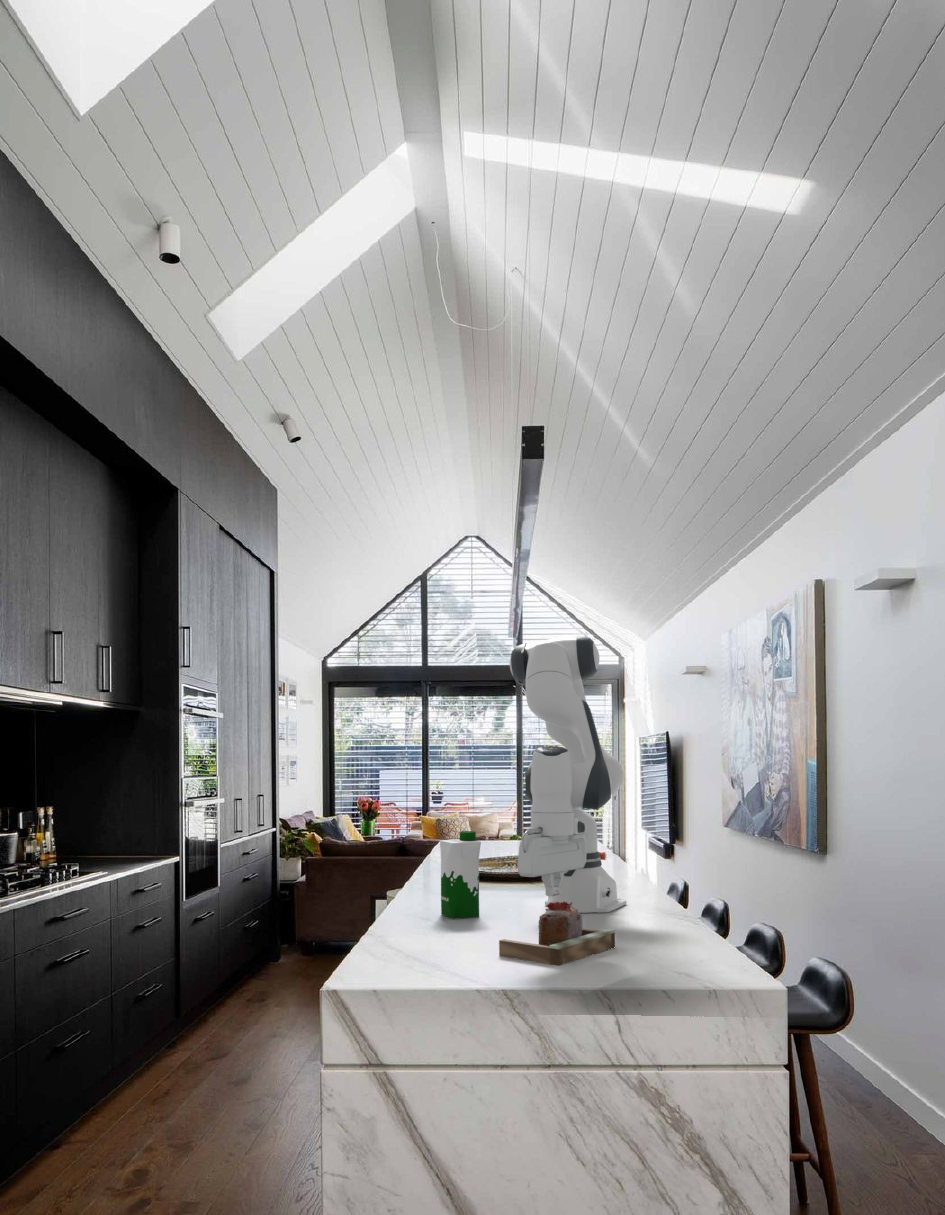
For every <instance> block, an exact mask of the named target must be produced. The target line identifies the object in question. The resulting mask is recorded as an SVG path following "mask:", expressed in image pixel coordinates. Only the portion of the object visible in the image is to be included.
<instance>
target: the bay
mask: <svg viewBox="0 0 945 1215" xmlns="http://www.w3.org/2000/svg"><path fill="white" fill-rule="evenodd" d="M615 931H616V930H615V929H609V928H608V929H607V928H605V929H602V930H598V929H597V930H596V929H590V928H583V927H582V936H580V937H577V938H573V939H570V940H566V941H563V942H559V943H556V944H552V945H549V946H545V945H539V943H537V944H536V943H532V942H526V941H525V942H524V941H519V940H518V941H517V940H511V939H507V938H506V939H500V940H499V941H498V948H499V949H498V955H499V957H502V958H509V959H516V960H522V961H526V962H527V961H528V962H532V963H540V964H545V965H546V964H547V965H551V966H557V967H559V966H563V965H565V964H569V963H572V962H575V961H578V960H581V958H582V959H584V957H585V958H587V957H586V956H588V957H590V956H589V955H591V956H593V955H592V954H594V955H597V954H600V953H602V951H603V952H606V950H607V951H608V949H610V950H612V949H611V948H613V949H615V948H616V932H615ZM614 947H615V948H614Z"/></svg>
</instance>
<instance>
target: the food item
mask: <svg viewBox="0 0 945 1215" xmlns="http://www.w3.org/2000/svg"><path fill="white" fill-rule="evenodd" d="M571 905H572V902H571V903H570V904H568V903H567V902H566V903H565V901H564V902H561V903H560V902H556V903H555V902H554V903H551V902H550V903H549V904H548V905H547V906H546V907H547V908H545V912H544V913H543V914H541V915H539V920H538V944H539V945H545V946H549V945H552V944H556V943H559V942H563V941H566V940H570V939H573V938H577V937H580V936H582V928H583V916H582V914H581V913H578V910H577V909H575V908H573V907H571Z"/></svg>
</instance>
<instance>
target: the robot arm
mask: <svg viewBox="0 0 945 1215" xmlns="http://www.w3.org/2000/svg"><path fill="white" fill-rule="evenodd" d="M599 653H600V652H599V650H598V647H597V646H596V644H595V641H594V640H593V639H591V637H588V636H576V637H556V638H555V637H554V638H551V639H545V640H540V641H535V642H531V643H522V644H519V645H517V646H515V648H513V649H512V651H511V653H510V658H509V669H510V672H511V675H512V677H513V679H514V681H515V682H516V683H517V684H519V685H521V686H525V697H526V698H525V699H526V703H527V706H528V709H530V711H531V712H532V713H533V714H534V715H535V716H536V717H538V719H540V720H542V721H543V722H545V728H546V732H547V735H549V737H550V738H551V739H552V740H553V741H555V742H557V743H559V744H560V745H561V746H554V745H546V746H545V745H544V746H539V747H537V748H535V749H534V750H533V754H532V760H531V761H530V763H529V765H528V768H527V770H526V771H525V772H524V778H525V780H524V781H525V783H524V784H525V793H524V797H525V798H526V799H527V800H528V801H529V802H530V803H532V804H531V807H530V828H527V829H526V830H525V832H524V833H523V834H522V836H521V840H520V843H519V847H518V854H517V855H518V857H517V871H518V873H519V876H521V877H526V878H527V877H528V878H535V877H541V880H542V882H543V885H544V888H545V895H546V896H547V898H548V899H547V900H545V901H544V906H546V907H547V905H548V904H549V903H550V902H551V903H554V902H555V903H556V902H560V903H561V902H564V901H565V903H566V902H567V903H568V904H570V903H571V902H572V905H571V907H573V908H575V909H577V910H578V913H584V914H585V913H610V912H612V911H614V910H617V909H619V908H621V907H623V906H625V905H627V900H625V899H622V898H618V891H617V890H618V888H617V883H616V880H615V879H614V878H613V877H612V876H611V875H610V874H609V872H607V871H606V870H605V869H604V868H603V866H602V865H603V864H602V860H603V861H605V860H607V853H606V851H602V852H601V851H598V824H597V821H596V819H595V818H594V817H593V816H592V815H591V814H590V813H589V812H587V811H585V810H600V809H601V808H602V807H604V805H606V804H607V803H608V802H609V801H610V799H611V798H612V795H614V794H617V792H618V791H620V788H621V786H622V784H623V780H624V770H623V767H622V765H621V763H620V761H619V760H618V759H617V758H616V757H615V756H614V755H612V754H610V753H609V752H608V751H607V750H606V749H605V748H604V747H603V746H602V745H601V743H600V738H599V735H598V730H597V728H596V723H595V720H594V717H593V713H592V710H591V708H590V706H589V704H588V702H587V699H586V693H585V688H584V684H583V681H584V682H586V681H587V680H588V679H590V678H592V677H594V676H595V675H596V673H597V672H598V668H599V665H600V654H599ZM584 809H585V810H584Z"/></svg>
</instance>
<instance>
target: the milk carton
mask: <svg viewBox="0 0 945 1215" xmlns="http://www.w3.org/2000/svg"><path fill="white" fill-rule="evenodd" d="M481 844H482V842H481V841H480V840H478V839H477V834H476V831H473V830H463V831H459V838H458V839H457V838H456V839H455V838H454V839H453V838H452V839H451V838H449V839H447V840H445V839H443V840H442V839H441V840H439V848H440V912H441V914H442V915H441V916H444V917H445V918H449V919H451V918H452V919H451V920H456V919H455V918H461V919H469V918H470V919H471V918H479V917H480V852H481Z"/></svg>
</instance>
